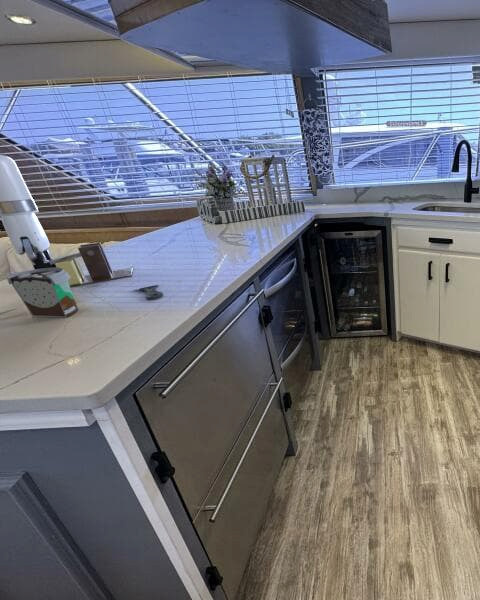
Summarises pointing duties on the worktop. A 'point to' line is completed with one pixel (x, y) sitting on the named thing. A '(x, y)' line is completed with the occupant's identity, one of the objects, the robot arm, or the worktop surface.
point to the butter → (72, 270)
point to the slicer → (99, 266)
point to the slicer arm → (64, 258)
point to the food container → (45, 292)
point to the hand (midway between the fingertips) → (49, 275)
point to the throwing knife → (151, 292)
